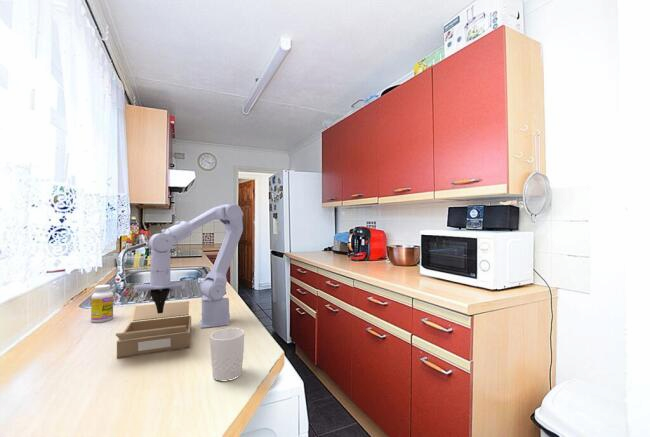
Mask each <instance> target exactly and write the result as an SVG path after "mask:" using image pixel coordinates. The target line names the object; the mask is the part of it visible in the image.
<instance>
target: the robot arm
mask: <svg viewBox="0 0 650 437" xmlns="http://www.w3.org/2000/svg"><path fill="white" fill-rule="evenodd" d="M243 217H244V212H243V210H242V209H241V206H240V205H239V204H237V203H228V204H227V203H226V204H225V203H224V204H223V203H222V204H218V206H213V207H212V208H210V209H208V210H206V211H204V212H203V213H202V214H200V215H198V216H196V217H194V218H193V219H191V220H189V221H185V220H181V221H180V220H178V221H175V222H174V225H172V226H170V227H168V228H166V229H165V228H163V229H161V232H160V233H155V234H153V235H151V236H150V238H149V241H148V242H147V245H148V247H149V249H150V259H149V260H150V266H149V267H150V274H149V275H150V276H149V277H150V278H149V279H150V280H149V281H150V282H149V283H144V284H136V285H134V286H133V293H140V292H150V293H149V294H150V297H151V298H152V300H153V302H154V304H155V305H156V308H157V312H158V314H159V313H163V309H164V304H165V303H166V301H167V297H168V296H169V293H170V291H171V290H180V289H181V290H185V289H186V281H171V249H173V247H174V246H175V245H177V244H179V243H181V242H182V241H184V240H186V239H187V238H189V237H191V236H193V232H194V230H196V229H198V228H200V227H203V226H204V225H206V224H208V223H209V222H212V221H214V220H219V221H220V222H221V223H222V224H223V226H224V227H225V229H226V233H225V235H224V238H223V241H222V244H221V247H220V248H219V251H218V253H217V255H216V259H215V260H214V264H213V266H212V268H211V269H210V271H209V272H208V273H207V274H206V276H205V277H204V279H203V280H202V281H201V282H200V284H199V288H198V290H199V293H200V294H201V295H202V297H201V320H200V328H201V329H205V328H207V329H208V328H212V327H220V326H229V325H230V316H231V315H230V299H229V297H224V296H225V295H226V292H227V287H226V286H227V283H228V279H227V272H228V270H229V268H230V266H231V263H232V260H233V257H234V254H235V252H236V250H237V247H238V244H239V241H240V239H241V236H242V234H243V230H244V224H243V222H244V221H243Z"/></svg>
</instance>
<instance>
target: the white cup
mask: <svg viewBox="0 0 650 437" xmlns="http://www.w3.org/2000/svg"><path fill="white" fill-rule="evenodd" d="M209 337H210V359H211V367H212V369H211V371H212V378H213V377H214V378H215V379H217V380H229V379H233V378H235V377H237V376H239V375H240V374H241V375H242V372H243V361H244V353H245V352H244V350H245V330H244V329H241V328H238V327H227V328H226V327H225V328H221V329H217V330H215V331H213V332H212V333H211V334H210V335H209ZM239 377H240V376H239ZM214 378H213V379H214Z"/></svg>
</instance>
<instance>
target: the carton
mask: <svg viewBox="0 0 650 437" xmlns="http://www.w3.org/2000/svg"><path fill="white" fill-rule="evenodd" d="M182 325H186V329H187V332H181V333H173V334H165V335H157V336H149V337H142V338H134V339H126V340H120V339H119V338H118V339H117V341H116V359H122V358H123V359H124V358H130V357H134V356H136V357H137V356H143V355H149V354H156V353H163V352H170V351H177V350H178V351H179V350H183V349H189V348H190V346H191V337H192V334H191V333H192V315H186V316H176V317H167V318H158V319H149V320H140V321H131V322H130V321H129V323H128V325H127V326H126V328H125V329H124V331H123V332H122V333H124V332H132V331H141V330H149V329H157V328H166V327H174V326H182Z"/></svg>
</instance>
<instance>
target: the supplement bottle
mask: <svg viewBox="0 0 650 437" xmlns="http://www.w3.org/2000/svg"><path fill="white" fill-rule="evenodd" d="M90 300H91V302H90V306H91V307H90V314H91V315H90V320H91V322H92V323H95V324H97V323H106V322H108V321H111V320H112V319H113V318H114V293H113V291H111V285H110V284H99V285H96V286H94V293H93V294H92V295H91V298H90Z"/></svg>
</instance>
